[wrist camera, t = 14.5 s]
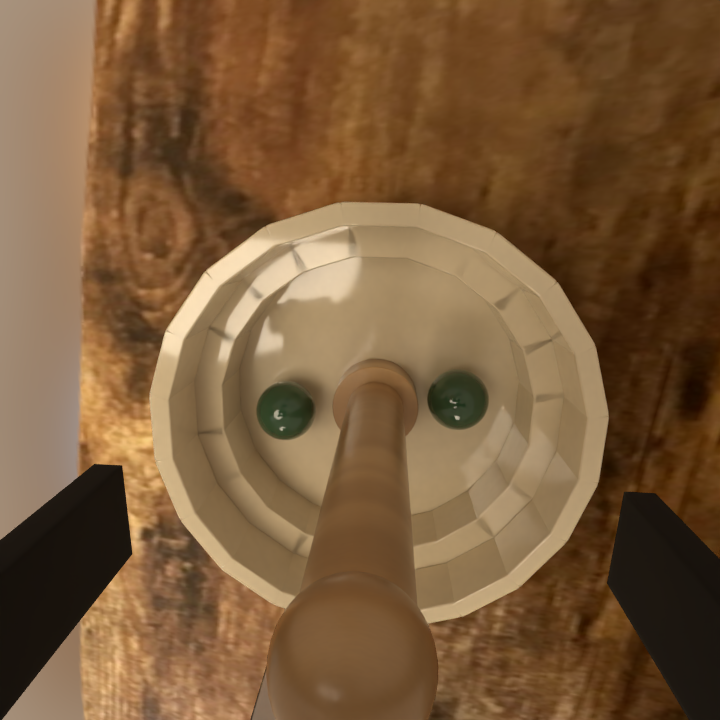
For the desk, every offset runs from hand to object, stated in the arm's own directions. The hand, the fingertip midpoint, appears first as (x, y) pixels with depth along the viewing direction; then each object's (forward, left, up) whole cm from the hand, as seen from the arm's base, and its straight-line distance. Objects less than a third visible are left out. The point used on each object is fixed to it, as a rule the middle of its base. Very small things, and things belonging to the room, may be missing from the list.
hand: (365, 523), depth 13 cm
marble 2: (0, +4, -10) cm, 11 cm away
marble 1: (+1, -4, -10) cm, 11 cm away
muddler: (0, 0, -12) cm, 12 cm away
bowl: (0, 0, -12) cm, 12 cm away
